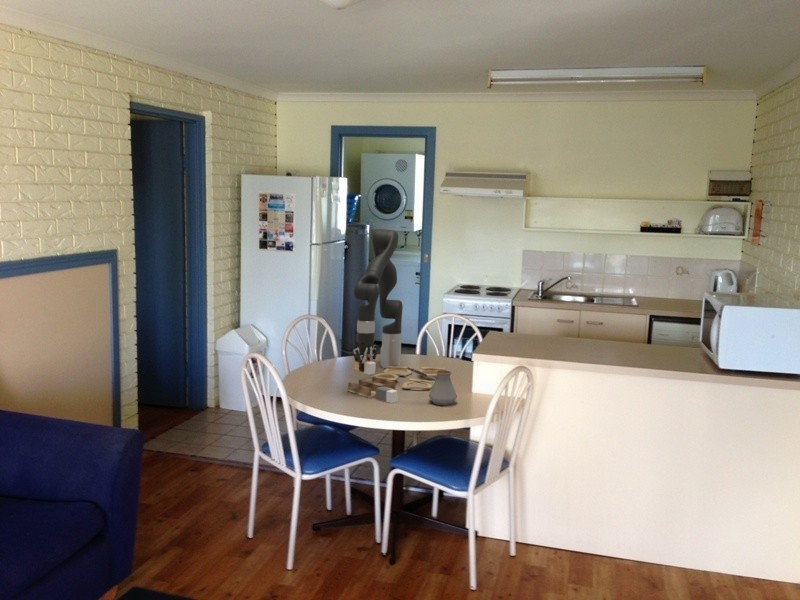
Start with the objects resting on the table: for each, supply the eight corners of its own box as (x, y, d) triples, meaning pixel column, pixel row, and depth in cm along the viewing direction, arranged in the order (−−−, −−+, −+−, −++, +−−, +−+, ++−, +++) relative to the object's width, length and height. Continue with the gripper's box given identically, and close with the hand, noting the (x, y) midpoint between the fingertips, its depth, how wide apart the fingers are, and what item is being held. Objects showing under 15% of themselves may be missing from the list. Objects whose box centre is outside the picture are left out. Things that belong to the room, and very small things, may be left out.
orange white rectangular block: (354, 369, 294) (354, 359, 294) (360, 367, 297) (360, 357, 296) (369, 374, 289) (369, 364, 288) (375, 373, 291) (375, 362, 290)
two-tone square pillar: (375, 398, 287) (375, 388, 286) (381, 396, 290) (381, 386, 289) (391, 403, 281) (391, 392, 280) (397, 401, 284) (397, 390, 283)
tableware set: (389, 368, 338) (389, 360, 338) (447, 374, 329) (448, 366, 329) (363, 386, 305) (364, 377, 305) (427, 394, 296) (427, 385, 296)
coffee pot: (453, 398, 290) (455, 363, 288) (459, 406, 279) (460, 370, 276) (403, 398, 287) (404, 363, 285) (406, 407, 276) (407, 370, 274)
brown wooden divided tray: (347, 391, 296) (347, 382, 295) (372, 384, 307) (372, 375, 307) (370, 398, 287) (370, 389, 286) (395, 391, 298) (396, 382, 298)
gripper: (371, 327, 298) (370, 366, 300) (347, 331, 287) (346, 371, 290) (384, 329, 293) (383, 369, 295) (360, 334, 282) (359, 375, 285)
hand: (365, 370), depth 292 cm, fingers closed on orange white rectangular block, 3 cm apart
